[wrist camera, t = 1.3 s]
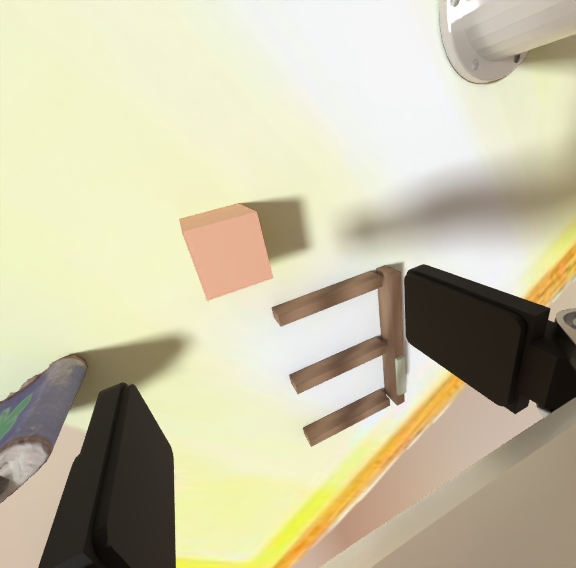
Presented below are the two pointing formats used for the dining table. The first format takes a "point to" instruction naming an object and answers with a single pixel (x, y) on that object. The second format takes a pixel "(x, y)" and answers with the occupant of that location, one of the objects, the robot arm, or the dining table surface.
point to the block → (227, 249)
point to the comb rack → (354, 348)
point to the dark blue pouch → (35, 421)
